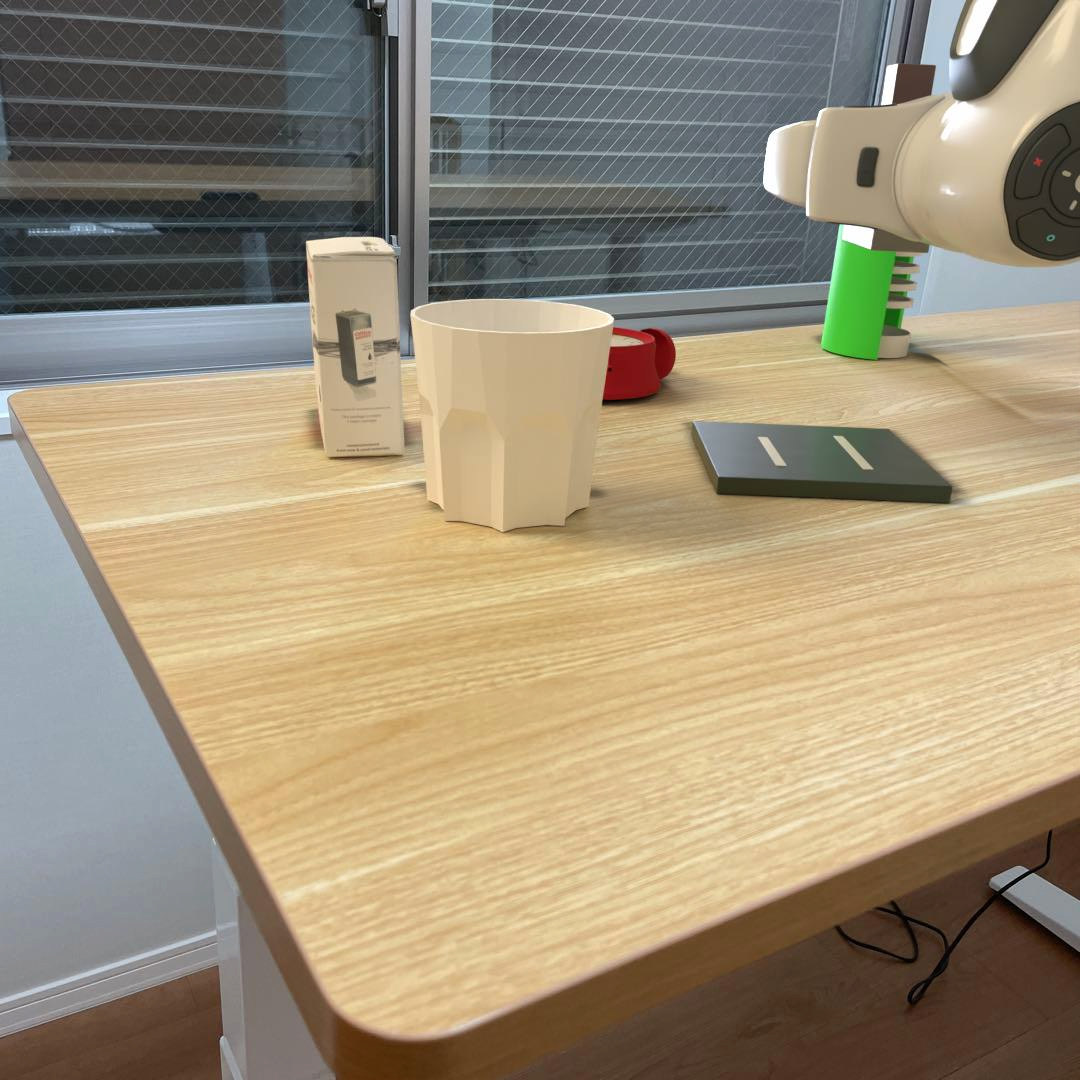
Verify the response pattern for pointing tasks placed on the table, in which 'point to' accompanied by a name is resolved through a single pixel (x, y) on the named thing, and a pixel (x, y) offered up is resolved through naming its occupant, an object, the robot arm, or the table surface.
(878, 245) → the eraser
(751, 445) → the board
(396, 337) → the ink box
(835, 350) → the green hooked bin
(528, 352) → the cup
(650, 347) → the alarm clock
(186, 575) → the table surface
